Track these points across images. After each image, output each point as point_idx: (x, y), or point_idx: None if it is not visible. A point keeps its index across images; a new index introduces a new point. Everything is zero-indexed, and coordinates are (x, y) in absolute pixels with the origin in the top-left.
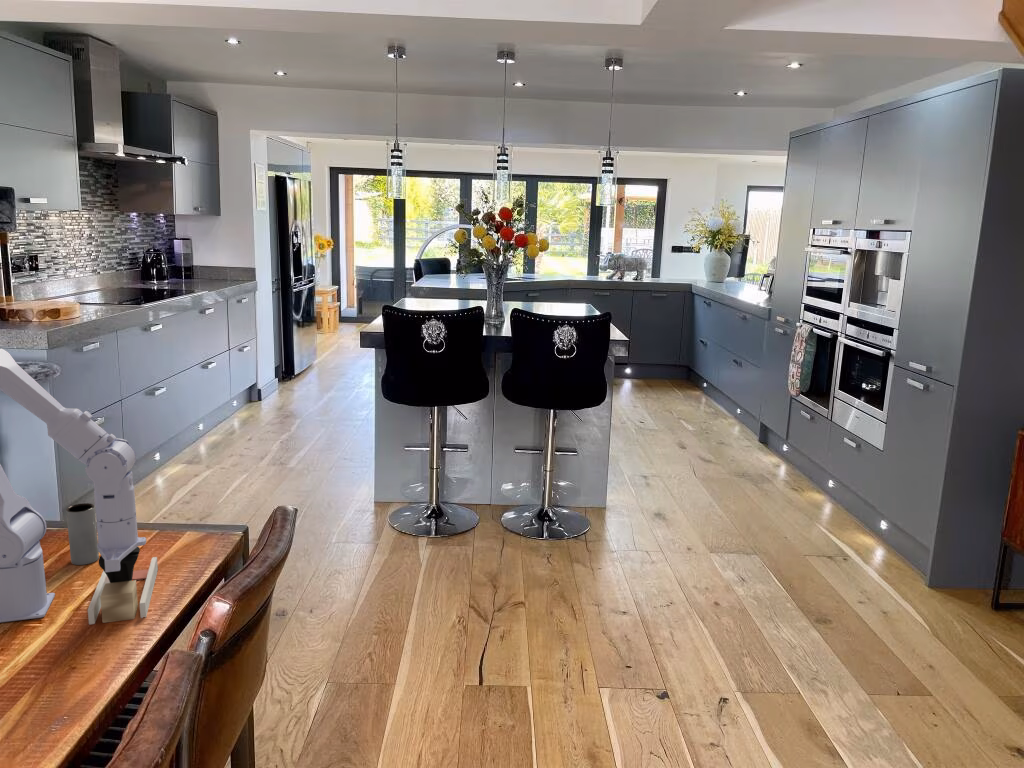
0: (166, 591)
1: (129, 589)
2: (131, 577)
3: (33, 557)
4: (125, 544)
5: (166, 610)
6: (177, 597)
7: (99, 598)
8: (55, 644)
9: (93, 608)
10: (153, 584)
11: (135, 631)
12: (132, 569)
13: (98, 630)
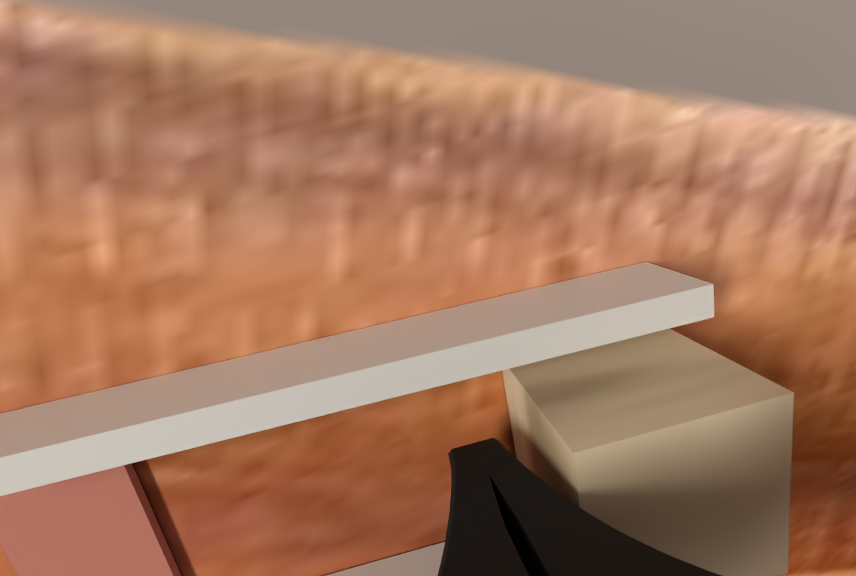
0: (311, 252)
1: (737, 433)
2: (559, 504)
3: None
4: None
5: (580, 169)
6: (407, 148)
7: None
8: (793, 545)
9: None
10: (239, 363)
11: (780, 264)
12: (662, 552)
13: None
